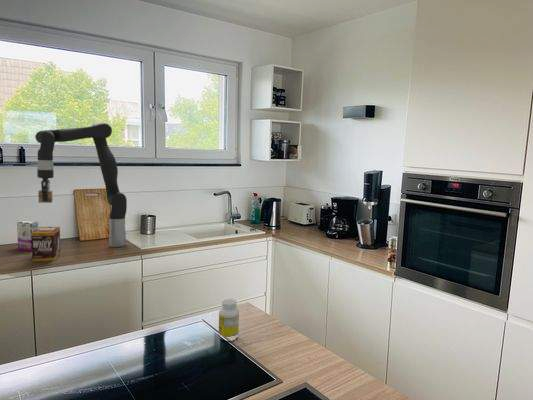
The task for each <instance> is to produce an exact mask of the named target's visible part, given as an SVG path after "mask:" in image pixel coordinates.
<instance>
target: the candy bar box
mask: <svg viewBox="0 0 533 400" xmlns="http://www.w3.org/2000/svg"><path fill="white" fill-rule="evenodd" d="M16 226H17V229H16V230H17V233H16V234H17V249H18V250H23V251H26V252H27V251H28V252H32V232H33V231H35V230H36V229H37V228H39V221H34V220H33V221H32V220H26V219H25V220H19V221H18V220H17V221H16Z"/></svg>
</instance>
